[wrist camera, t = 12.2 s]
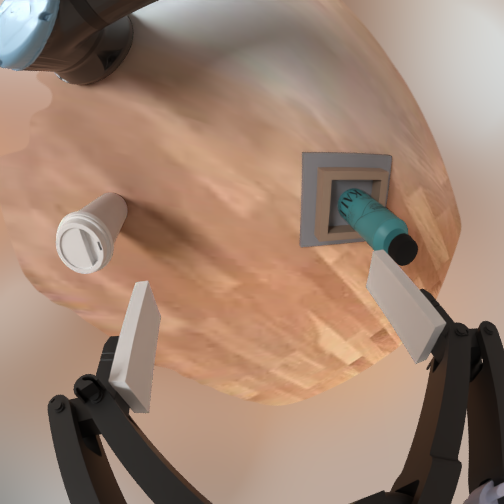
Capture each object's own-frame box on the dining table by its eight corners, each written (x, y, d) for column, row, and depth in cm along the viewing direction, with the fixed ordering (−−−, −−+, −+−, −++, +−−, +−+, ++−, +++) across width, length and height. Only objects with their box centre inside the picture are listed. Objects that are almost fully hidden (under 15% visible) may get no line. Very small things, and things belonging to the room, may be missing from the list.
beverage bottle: (364, 212, 51) (424, 266, 34) (334, 220, 51) (387, 281, 34) (361, 180, 48) (428, 226, 30) (329, 188, 48) (388, 239, 31)
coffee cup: (132, 237, 49) (108, 285, 36) (87, 227, 46) (53, 270, 33) (139, 189, 45) (111, 225, 32) (91, 180, 42) (50, 211, 29)
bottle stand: (302, 152, 45) (309, 156, 41) (389, 155, 46) (400, 159, 43) (299, 244, 54) (305, 255, 50) (378, 237, 55) (387, 246, 52)
